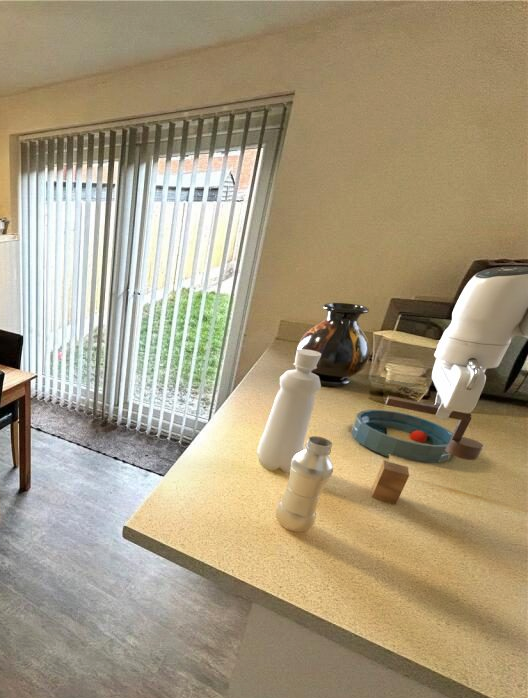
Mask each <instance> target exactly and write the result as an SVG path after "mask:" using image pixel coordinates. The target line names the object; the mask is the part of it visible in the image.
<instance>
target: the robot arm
mask: <svg viewBox="0 0 528 698" xmlns="http://www.w3.org/2000/svg"><path fill="white" fill-rule="evenodd" d="M515 337H524V338H526V339H528V266H498V267H491V268H487V269H484V270H481V271H479V272H477V273H476V274H474V275H473V276H472V277H471V278H470V279H469V281H468V282H467V283H466V285H464V288H463V289H462V291H461V293H460V295H459V297H458V299H457V300H456V303H455V305H454V307H453V310H452V313H451V322H450V324H449V325H448V327H447V328H445V330H444V331H443V333H442V336H441V337H440V339H439V341H438V343H437V345H436V350H435V351H434V354H433V356H434V357H435V361H434V364H433V367H432V370H431V371H432V372H431V380H432V382H433V385H434V387H435V389H436V395H435V396H436V397H435V400H434V401H435V403H434V404H433V405H438V406H439V408H437V410H436V412H435V415H434V416H435V418H437V419H440V420H448V419H450V418H449V416H450V413H451V412H452V411H458V412H463V413H471V412H472V411H474V409H475V408H476V406H477V404H478V401H479V399H480V398H481V397H480V396H481V395H482V393H483V390H484V388H485V384H486V381H487V376H486V370H488V369H495V368H498V367H499V366H500V364H501V363H502V361H503V358H504V356H505V355H506V353H507V350H508V348H509V346H510V345H511V343H512V339H513V338H515Z"/></svg>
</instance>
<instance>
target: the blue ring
mask: <svg viewBox="0 0 528 698" xmlns="http://www.w3.org/2000/svg"><path fill="white" fill-rule="evenodd" d="M387 429H392V430H395V431H399V432H403V433H407V434H411V433H412V432H414V431H422V432H424V433H425V434H426V435H427V439H426V441H425V442H427V443H430V444H426V443H422V442H415V441H409V440H405V439H401V438H398V437H395V436H392V435H388V430H387ZM452 434H453V431H451V429H448V428H446V427H445V426H442V425H440V424H439V423H436V422H434V421H431V420H428V419H426V418H423V417H420V416H415V415H412V414H409V413H404V412H400V411H395V410H387V409H364V410H361V411H359V412H358V413H356V416H355V418H354V420H353V424H352V426H351V429H350V436H352V438H353V439H354V440H355V441H356V442H358V443H359V444H360V445H362V446H364V447H365V448H367V449H369V450H371V451H372V452H375V453H377V454H380V455H381V456H384V457H388V458H390V456H393V457H397V458H401V459H405V460H407V461H415V462H421V463H441V462H446V461H448V460H449V459H450V458H451V457H452V455H451V454H449V453H448V452H446V450H445V449H446V447H447V445H448V443H449V441H450V439H451V436H452Z"/></svg>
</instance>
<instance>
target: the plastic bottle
mask: <svg viewBox="0 0 528 698" xmlns="http://www.w3.org/2000/svg"><path fill="white" fill-rule="evenodd" d="M304 448H305V449H303V450H302V451H301V452H299V453H297V454H296V455H295V456H294V457H293V458H292V461H291V468H290V473H289V478H288V480H287V485H286V489H285V491H284V493H283V495H282V497H281V499H280V501H279V502H278V503H277V505H276V507H275V518H276V520H277V522H278V524H279V525H280V526H282V527H283V528H285V529H287V530H289V531H291V532H295V533H305V532H308V531H310V530H311V529H312V528H313V527H314V525H315V523H316V517H317V508H318V504H319V499H320V497H321V494H322V493H323V490H324V488H325V486H326V485H327V483H328V482H329V480H330V478H331V477H332V474H333V472H334V466H333V463H332V460H331V458H330V457H329V455H331V452H332V448H333V442H332V440H329V439H327V438H325V437H322V436H315V435H314V436H309V437H308V439H307V441H306V442H305V445H304Z"/></svg>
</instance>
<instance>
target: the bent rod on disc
mask: <svg viewBox="0 0 528 698" xmlns="http://www.w3.org/2000/svg"><path fill="white" fill-rule="evenodd" d="M385 405H386V406H390V407H395V408H398V409H404V410H409V411H412V412H413V411H414V412H419V413H423V414H427V415H433V416H436V415H435V412H436V410H437V408H439V406H438V405H434V404H433V403H432V404H431V403H427V402H422V401H416V400H411V399H406V398H401V397H396V396H390V395H387V397H386V400H385ZM448 419H453V420H458V422H457V424H456V425H455V428H454V430H453V431H452V433H453V434H452V436H451V439H450V441H449V443H448V445H447V447H446V449H445V450H446V452H448V453H449V454H451V456H453V457H455V458H459V459H462V460H465V461H476V460H477V459H478V458H479V456H480V454H481V453H482V450H483V449H484V444H482V443H481V442H480V441H478V440H475V439H473V438H469V437H466V436H464V435H465V433H466V430H467V429H468V427H469V424H470V423H471V421H472V413H471V412H470V413H463V412H458V411H452V412H451V413H450V416H449V418H448Z"/></svg>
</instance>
